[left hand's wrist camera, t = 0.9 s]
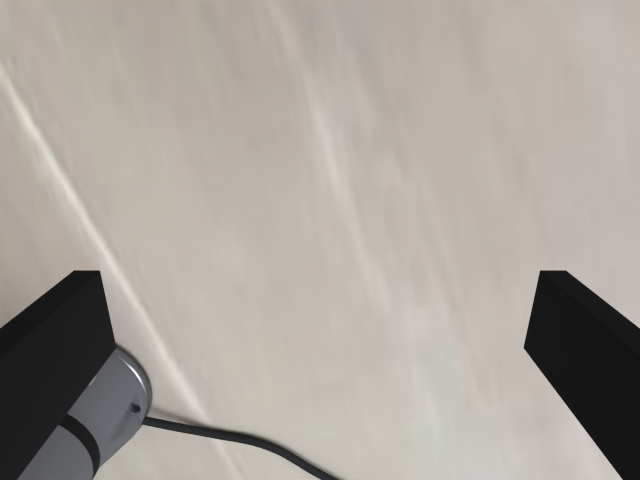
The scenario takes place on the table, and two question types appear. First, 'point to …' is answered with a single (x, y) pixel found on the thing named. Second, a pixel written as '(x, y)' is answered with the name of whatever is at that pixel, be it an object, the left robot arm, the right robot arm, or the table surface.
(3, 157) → the table surface
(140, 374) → the right robot arm
